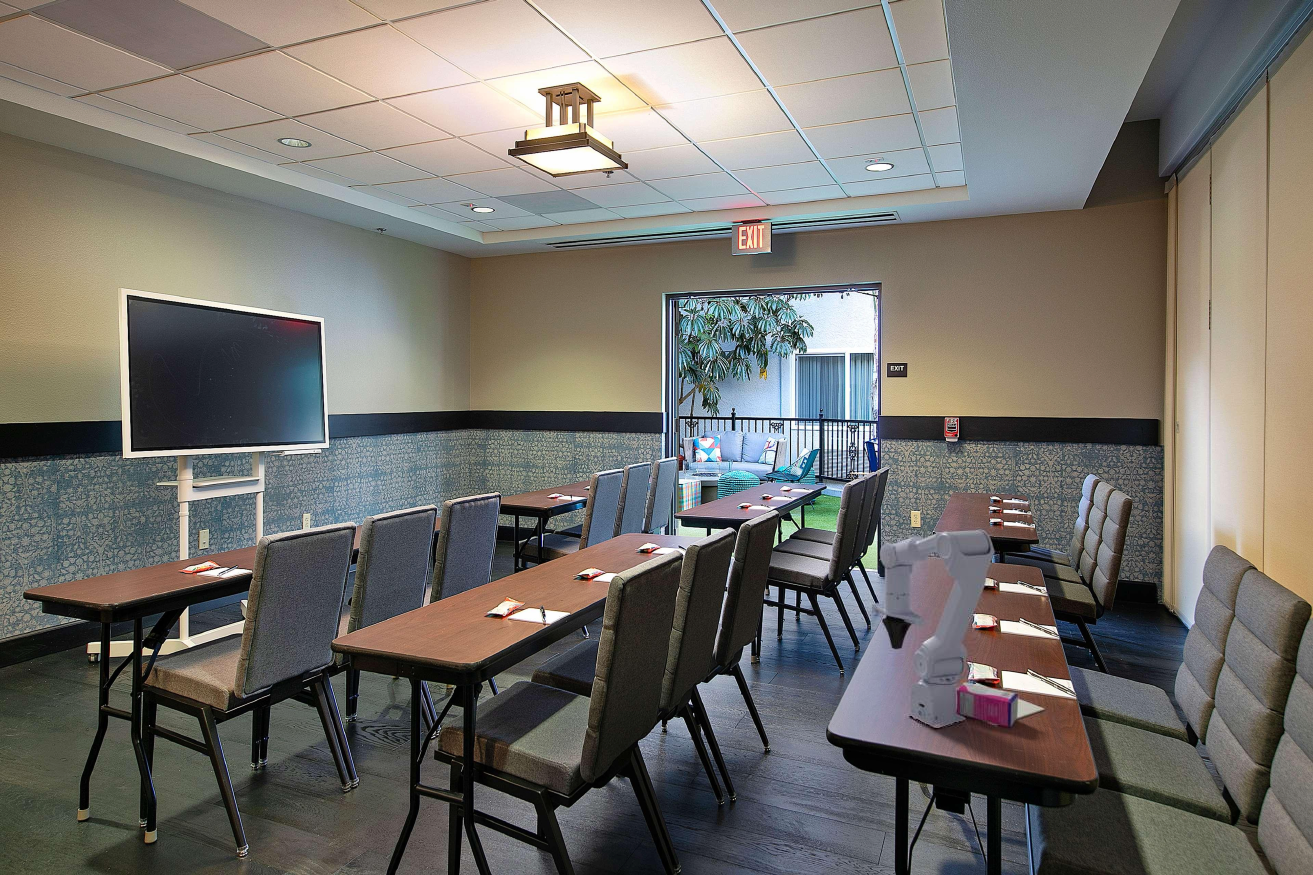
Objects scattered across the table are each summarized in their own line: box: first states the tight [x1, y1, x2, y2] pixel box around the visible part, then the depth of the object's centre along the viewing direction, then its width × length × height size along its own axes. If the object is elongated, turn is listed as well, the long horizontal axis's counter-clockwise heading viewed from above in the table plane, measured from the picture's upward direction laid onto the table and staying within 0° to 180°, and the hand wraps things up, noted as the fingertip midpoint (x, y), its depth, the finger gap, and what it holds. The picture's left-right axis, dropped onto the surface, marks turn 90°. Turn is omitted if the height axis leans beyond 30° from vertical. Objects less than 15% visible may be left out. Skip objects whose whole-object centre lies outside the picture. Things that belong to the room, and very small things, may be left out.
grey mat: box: [974, 682, 1045, 727], centre depth 173 cm, size 17×18×1 cm
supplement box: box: [956, 681, 1019, 728], centre depth 165 cm, size 6×6×12 cm
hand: (896, 647), depth 181 cm, fingers closed
